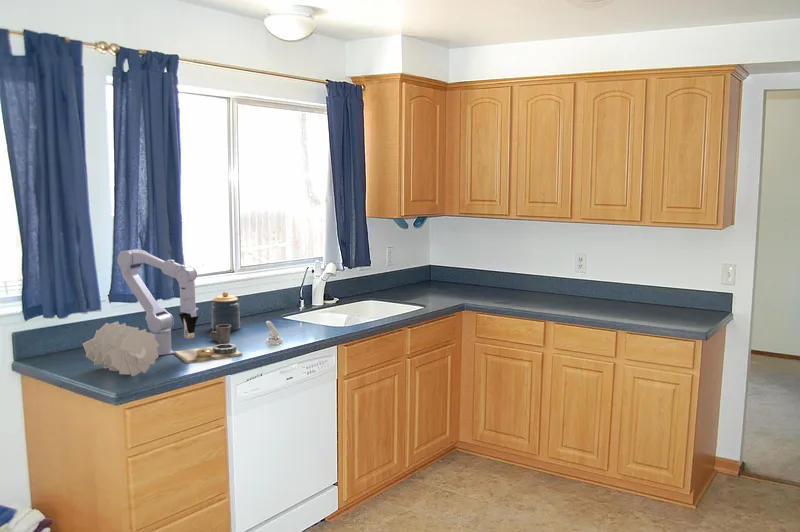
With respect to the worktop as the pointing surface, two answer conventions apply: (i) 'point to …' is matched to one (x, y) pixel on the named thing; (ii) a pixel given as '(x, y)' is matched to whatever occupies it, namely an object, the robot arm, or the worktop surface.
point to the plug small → (204, 353)
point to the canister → (225, 311)
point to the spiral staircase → (122, 348)
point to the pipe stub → (186, 334)
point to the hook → (273, 335)
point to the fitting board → (192, 357)
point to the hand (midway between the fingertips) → (189, 331)
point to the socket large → (224, 348)
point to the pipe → (221, 334)
